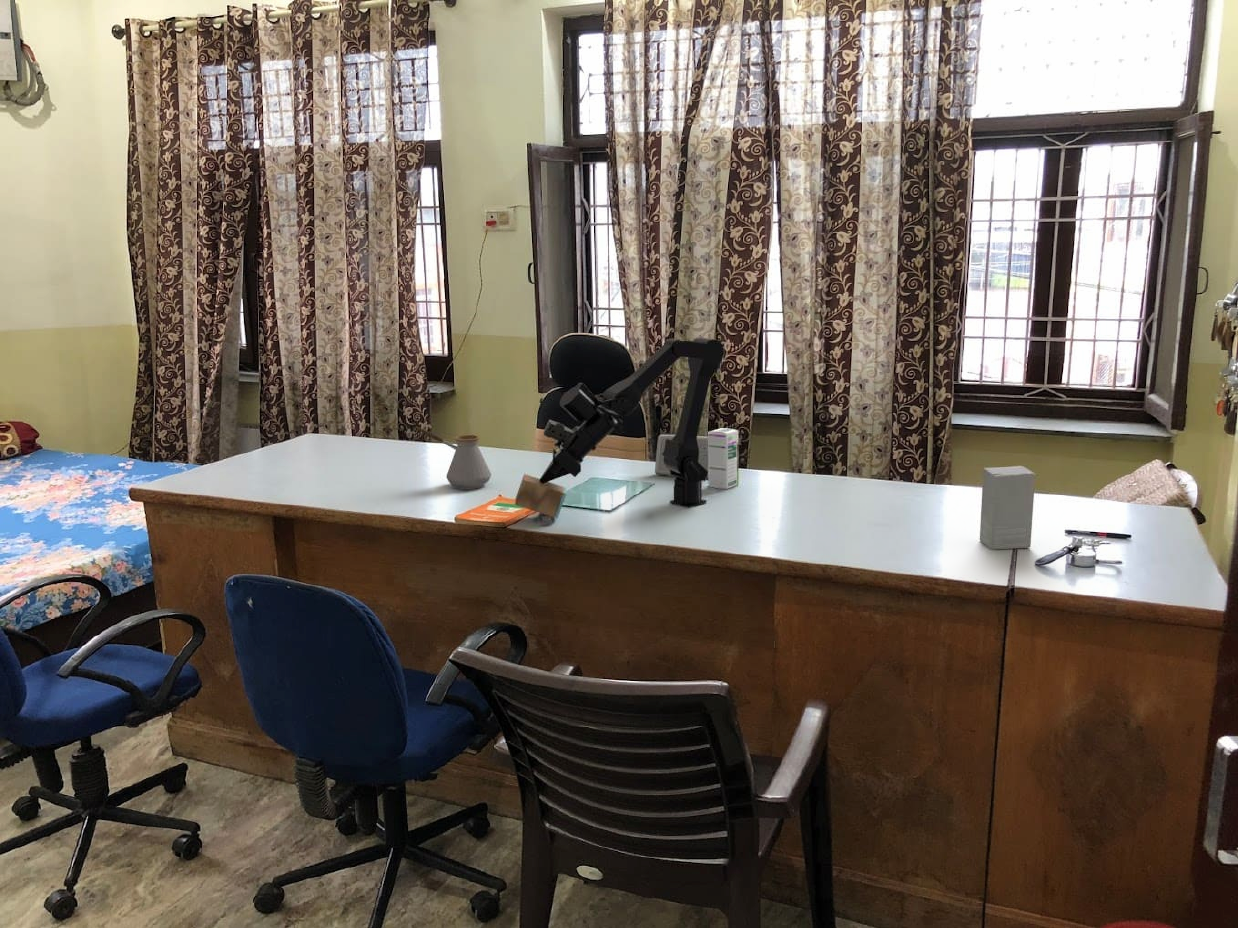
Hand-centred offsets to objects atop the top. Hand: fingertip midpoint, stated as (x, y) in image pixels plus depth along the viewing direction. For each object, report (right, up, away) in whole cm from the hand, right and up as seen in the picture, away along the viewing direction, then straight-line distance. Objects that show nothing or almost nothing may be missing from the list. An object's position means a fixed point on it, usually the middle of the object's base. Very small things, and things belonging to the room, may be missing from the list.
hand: (540, 481), depth 220 cm
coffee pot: (-26, -2, +35) cm, 44 cm away
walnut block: (+5, -5, +2) cm, 7 cm away
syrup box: (+44, -2, +30) cm, 53 cm away
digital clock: (+35, +1, +42) cm, 55 cm away
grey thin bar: (+1, -8, +2) cm, 9 cm away
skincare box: (+95, -13, -23) cm, 99 cm away
